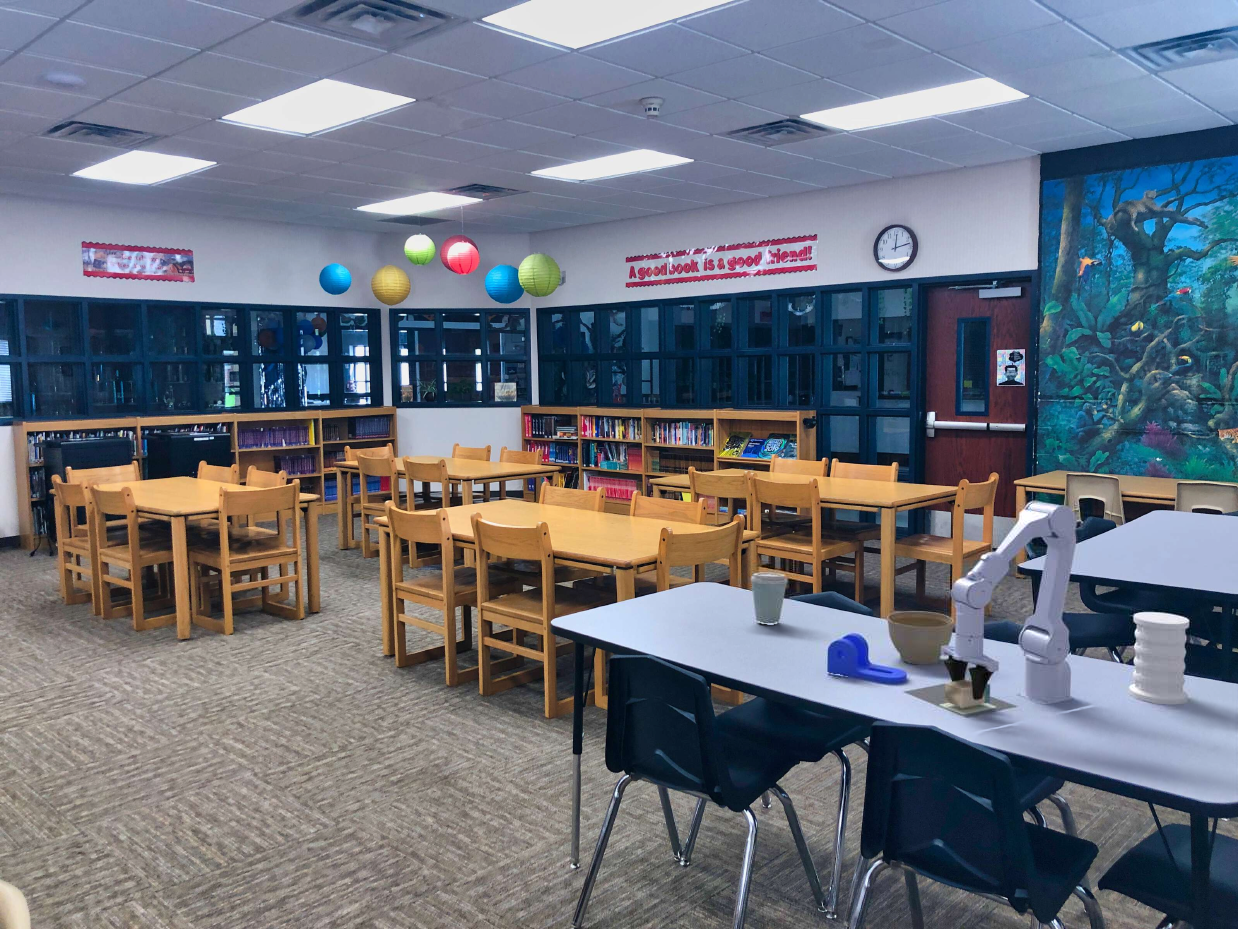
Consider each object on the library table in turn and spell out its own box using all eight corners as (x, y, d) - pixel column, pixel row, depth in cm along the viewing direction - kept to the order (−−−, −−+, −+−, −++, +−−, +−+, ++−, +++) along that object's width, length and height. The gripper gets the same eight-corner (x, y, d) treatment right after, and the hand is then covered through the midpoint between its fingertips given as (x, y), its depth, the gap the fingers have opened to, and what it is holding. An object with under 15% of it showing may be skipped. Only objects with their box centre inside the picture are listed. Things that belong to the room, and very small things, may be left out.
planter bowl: (884, 650, 255) (885, 609, 254) (948, 653, 252) (949, 612, 251) (888, 667, 240) (889, 625, 239) (956, 671, 236) (957, 627, 235)
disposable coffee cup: (750, 618, 290) (750, 569, 289) (786, 619, 289) (787, 569, 287) (750, 627, 280) (750, 576, 278) (788, 628, 278) (788, 577, 277)
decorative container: (1184, 692, 219) (1187, 614, 218) (1191, 707, 209) (1194, 626, 207) (1127, 685, 224) (1130, 609, 223) (1130, 701, 214) (1133, 621, 212)
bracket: (827, 674, 235) (827, 638, 234) (842, 666, 242) (842, 631, 241) (898, 688, 224) (899, 650, 223) (911, 679, 231) (912, 642, 230)
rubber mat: (951, 683, 227) (951, 681, 227) (1017, 708, 210) (1017, 705, 210) (903, 693, 220) (903, 691, 220) (966, 719, 203) (966, 717, 203)
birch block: (944, 701, 210) (945, 683, 210) (971, 695, 214) (972, 678, 213) (962, 708, 206) (962, 689, 205) (989, 702, 209) (990, 684, 209)
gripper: (931, 628, 213) (929, 688, 214) (982, 644, 200) (980, 708, 201) (954, 624, 216) (953, 683, 218) (1006, 640, 203) (1004, 702, 205)
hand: (968, 695), depth 210 cm, fingers closed on birch block, 5 cm apart
